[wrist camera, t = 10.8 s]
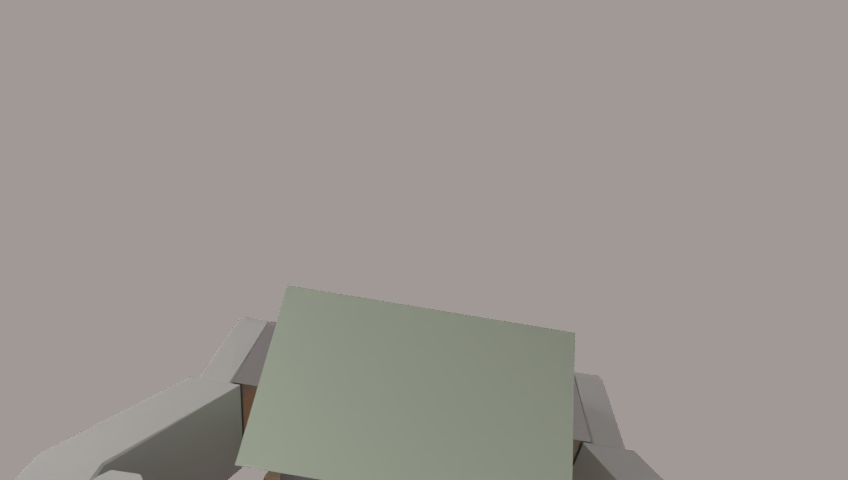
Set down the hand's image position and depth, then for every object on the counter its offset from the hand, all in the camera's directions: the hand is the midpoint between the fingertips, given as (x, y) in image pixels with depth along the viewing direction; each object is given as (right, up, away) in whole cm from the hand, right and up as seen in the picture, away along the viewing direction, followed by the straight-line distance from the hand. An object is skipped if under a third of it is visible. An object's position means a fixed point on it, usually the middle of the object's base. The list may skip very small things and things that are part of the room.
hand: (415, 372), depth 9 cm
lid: (-1, -6, +7) cm, 9 cm away
